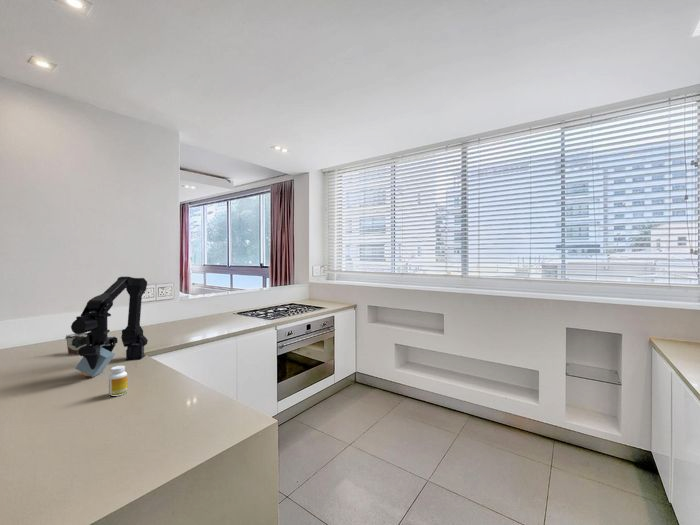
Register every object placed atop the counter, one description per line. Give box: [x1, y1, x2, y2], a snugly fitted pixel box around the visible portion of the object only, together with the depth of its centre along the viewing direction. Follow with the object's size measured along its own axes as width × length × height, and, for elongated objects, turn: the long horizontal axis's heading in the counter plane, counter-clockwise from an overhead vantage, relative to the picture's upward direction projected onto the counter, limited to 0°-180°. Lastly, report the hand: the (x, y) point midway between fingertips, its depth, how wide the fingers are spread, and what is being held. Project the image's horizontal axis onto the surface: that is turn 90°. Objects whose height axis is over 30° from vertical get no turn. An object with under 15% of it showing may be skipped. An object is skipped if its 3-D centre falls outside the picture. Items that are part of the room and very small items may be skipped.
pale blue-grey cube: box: [74, 347, 116, 378], centre depth 133 cm, size 8×8×9 cm
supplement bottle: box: [108, 365, 128, 396], centre depth 113 cm, size 5×5×10 cm
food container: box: [65, 332, 88, 355], centre depth 165 cm, size 12×6×10 cm, turn 84°
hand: (98, 365), depth 132 cm, fingers open, 9 cm apart
